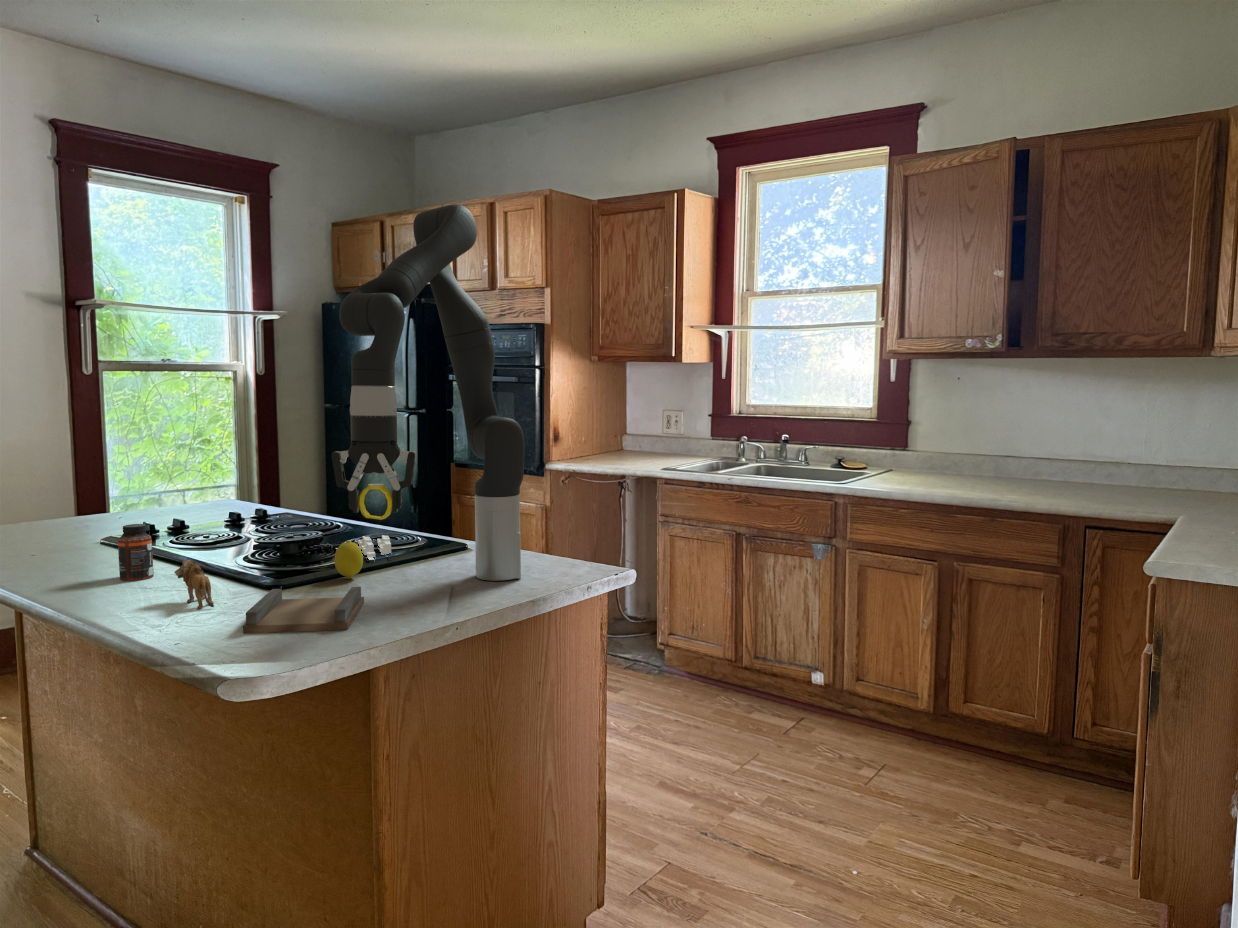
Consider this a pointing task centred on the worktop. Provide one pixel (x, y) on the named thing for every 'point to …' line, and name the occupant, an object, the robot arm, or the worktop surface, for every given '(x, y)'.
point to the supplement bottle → (135, 553)
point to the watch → (362, 498)
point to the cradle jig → (303, 613)
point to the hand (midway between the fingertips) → (375, 511)
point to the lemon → (348, 559)
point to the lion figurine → (195, 582)
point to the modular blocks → (369, 546)
